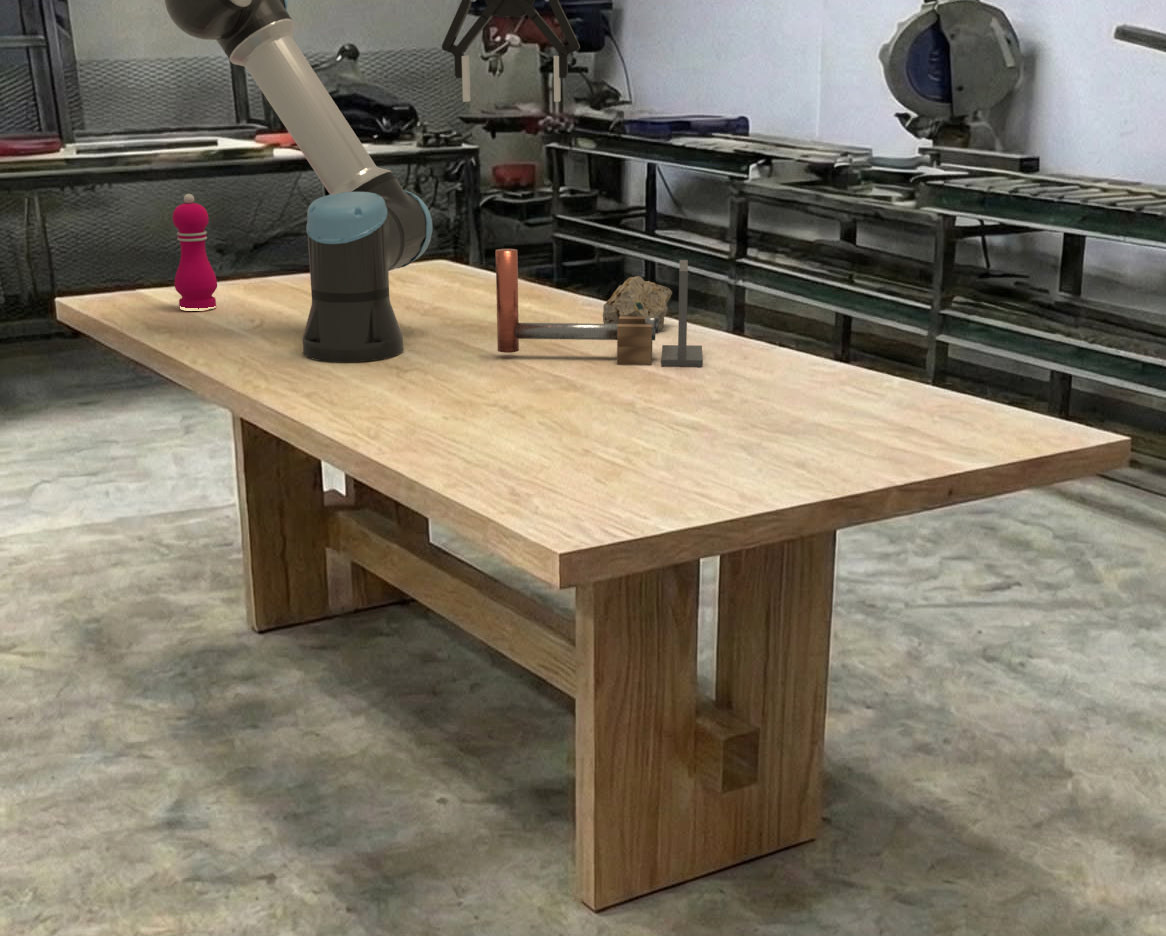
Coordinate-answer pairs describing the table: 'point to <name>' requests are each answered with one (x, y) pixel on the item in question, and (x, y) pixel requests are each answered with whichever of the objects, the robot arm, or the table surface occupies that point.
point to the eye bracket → (682, 332)
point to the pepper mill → (193, 257)
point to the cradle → (634, 341)
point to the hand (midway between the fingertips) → (511, 101)
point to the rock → (637, 301)
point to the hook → (513, 330)
